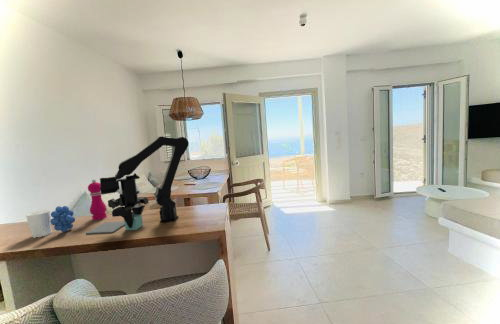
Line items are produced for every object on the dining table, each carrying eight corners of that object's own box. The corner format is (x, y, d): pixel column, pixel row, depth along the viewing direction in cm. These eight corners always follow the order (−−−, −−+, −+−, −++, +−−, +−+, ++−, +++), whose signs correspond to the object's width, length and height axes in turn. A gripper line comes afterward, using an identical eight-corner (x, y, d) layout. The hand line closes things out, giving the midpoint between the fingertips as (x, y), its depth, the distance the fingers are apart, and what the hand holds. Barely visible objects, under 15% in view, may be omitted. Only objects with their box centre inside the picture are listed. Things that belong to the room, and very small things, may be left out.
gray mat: (129, 222, 116) (129, 221, 116) (113, 232, 104) (112, 231, 104) (104, 223, 117) (104, 222, 117) (86, 234, 105) (85, 232, 105)
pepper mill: (102, 220, 123) (96, 180, 120) (88, 221, 123) (81, 181, 121) (110, 215, 130) (105, 177, 128) (97, 216, 130) (91, 178, 128)
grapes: (63, 237, 104) (58, 209, 102) (48, 237, 104) (43, 210, 103) (84, 226, 115) (80, 201, 114) (70, 227, 116) (66, 202, 114)
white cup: (34, 239, 103) (30, 216, 102) (27, 236, 108) (23, 214, 106) (56, 232, 110) (53, 210, 109) (49, 230, 114) (45, 209, 113)
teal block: (142, 225, 110) (141, 214, 110) (136, 229, 106) (135, 218, 105) (132, 225, 111) (130, 214, 110) (125, 230, 106) (124, 218, 105)
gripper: (123, 186, 116) (128, 218, 118) (96, 197, 98) (102, 235, 100) (146, 185, 115) (151, 217, 117) (123, 195, 97) (128, 233, 99)
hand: (134, 225), depth 108 cm, fingers closed on teal block, 5 cm apart
